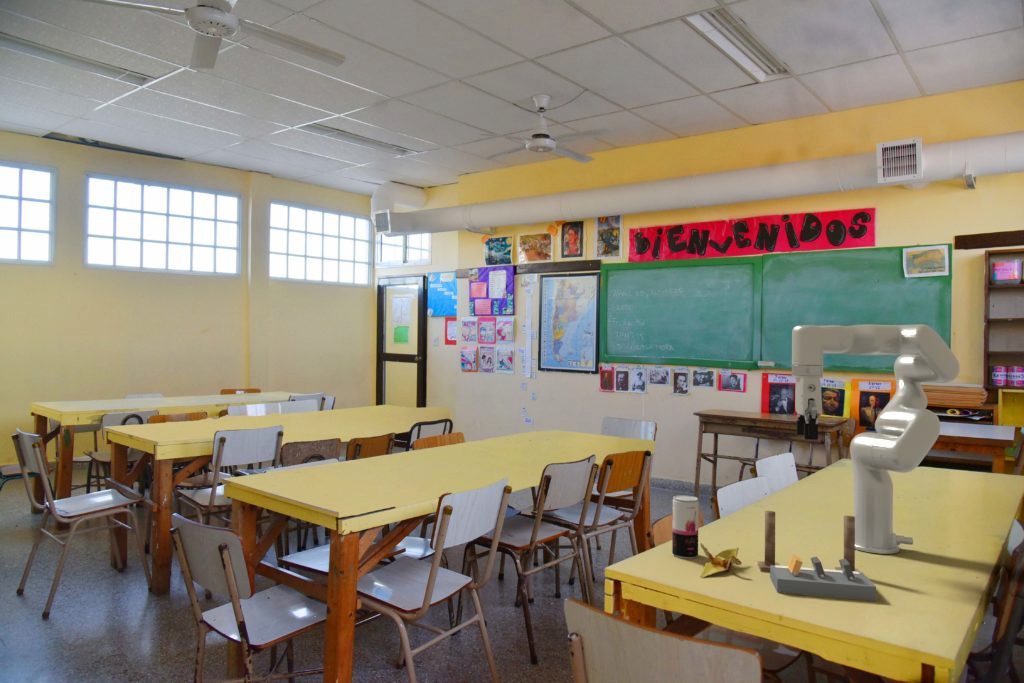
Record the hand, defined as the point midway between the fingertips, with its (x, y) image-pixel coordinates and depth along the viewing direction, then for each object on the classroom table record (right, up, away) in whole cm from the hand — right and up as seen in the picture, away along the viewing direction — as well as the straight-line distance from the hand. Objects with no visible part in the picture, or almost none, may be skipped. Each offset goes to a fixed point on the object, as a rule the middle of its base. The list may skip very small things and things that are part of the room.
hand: (806, 437), depth 174 cm
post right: (+4, -31, -15) cm, 35 cm away
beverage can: (-32, -31, -1) cm, 45 cm away
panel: (-8, -31, -25) cm, 40 cm away
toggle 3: (-2, -28, -26) cm, 38 cm away
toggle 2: (-8, -28, -25) cm, 38 cm away
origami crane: (-27, -31, -12) cm, 43 cm away
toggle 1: (-14, -28, -23) cm, 39 cm away
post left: (-14, -31, -11) cm, 36 cm away
